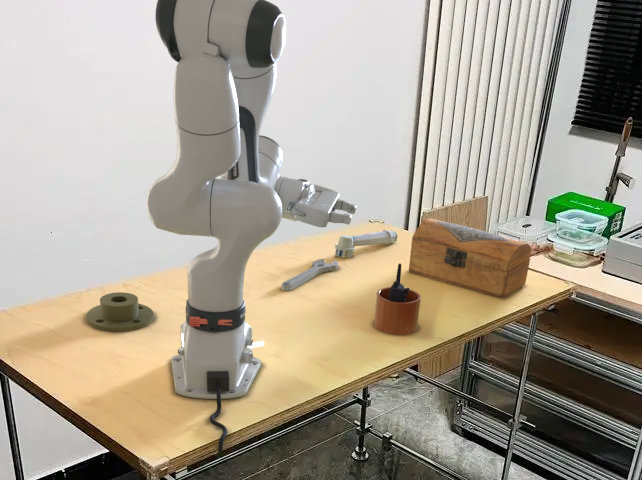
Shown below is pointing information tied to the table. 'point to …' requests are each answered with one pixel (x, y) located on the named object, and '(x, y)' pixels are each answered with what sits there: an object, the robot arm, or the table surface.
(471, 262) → the wooden box
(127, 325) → the flange
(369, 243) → the toothbrush head
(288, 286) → the adjustable wrench
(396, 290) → the two-way radio
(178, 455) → the table surface
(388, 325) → the brown round pot
